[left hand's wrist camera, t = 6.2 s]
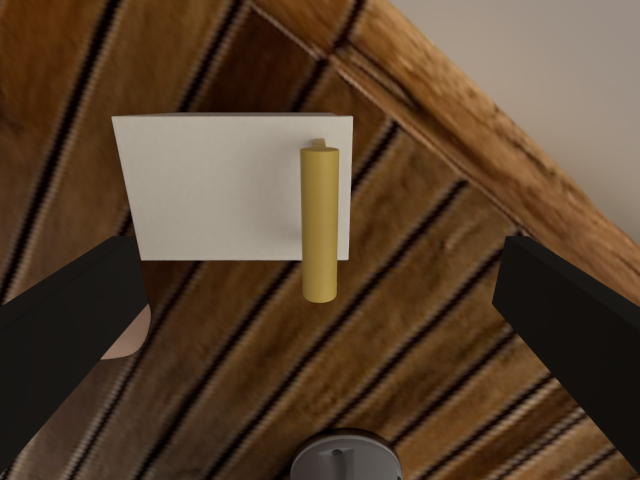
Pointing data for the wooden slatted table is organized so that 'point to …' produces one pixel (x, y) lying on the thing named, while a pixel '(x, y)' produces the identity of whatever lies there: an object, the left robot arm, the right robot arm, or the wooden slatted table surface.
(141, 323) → the anatomical model
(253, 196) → the lid
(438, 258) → the wooden slatted table surface
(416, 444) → the wooden slatted table surface
